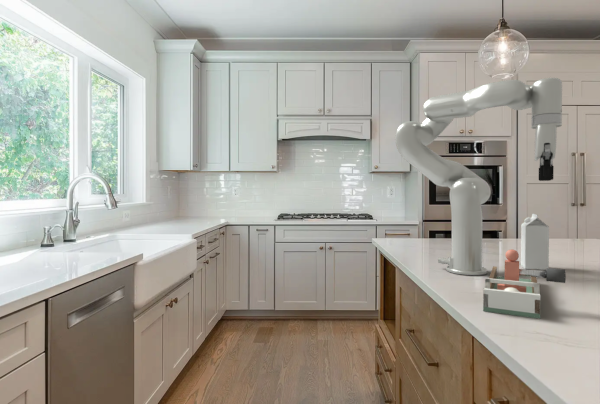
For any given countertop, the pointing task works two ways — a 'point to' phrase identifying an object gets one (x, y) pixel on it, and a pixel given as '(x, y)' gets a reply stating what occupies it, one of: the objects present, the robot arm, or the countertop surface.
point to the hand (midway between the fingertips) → (545, 180)
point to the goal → (511, 296)
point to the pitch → (510, 312)
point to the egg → (511, 289)
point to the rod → (527, 272)
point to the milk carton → (534, 244)
